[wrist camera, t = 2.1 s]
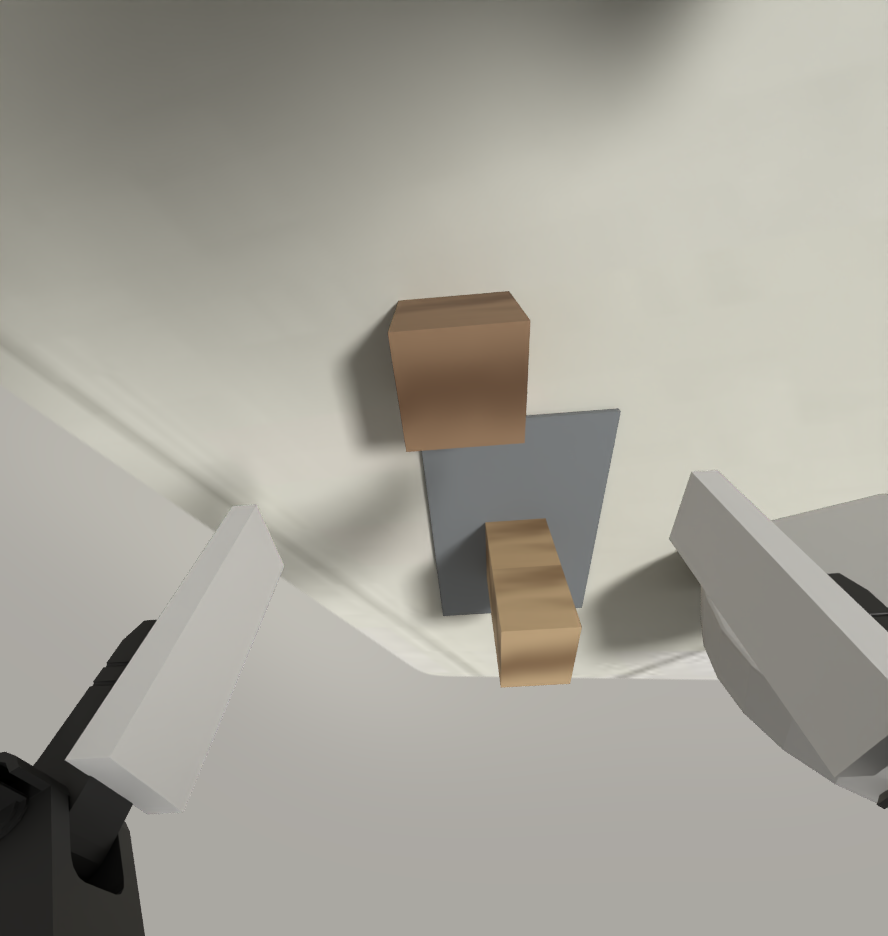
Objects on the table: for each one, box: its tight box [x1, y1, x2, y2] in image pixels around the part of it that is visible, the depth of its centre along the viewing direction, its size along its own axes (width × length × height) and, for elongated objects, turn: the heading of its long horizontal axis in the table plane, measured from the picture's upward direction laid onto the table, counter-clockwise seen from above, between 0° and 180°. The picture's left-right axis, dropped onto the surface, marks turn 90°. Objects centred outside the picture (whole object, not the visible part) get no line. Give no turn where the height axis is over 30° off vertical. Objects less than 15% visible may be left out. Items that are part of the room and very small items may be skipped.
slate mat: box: [422, 409, 621, 616], centre depth 34 cm, size 22×14×1 cm, turn 4°
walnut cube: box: [388, 291, 530, 452], centre depth 22 cm, size 6×6×6 cm
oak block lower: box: [485, 518, 561, 623], centre depth 33 cm, size 7×5×5 cm
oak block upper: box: [492, 565, 582, 687], centre depth 29 cm, size 7×5×5 cm
